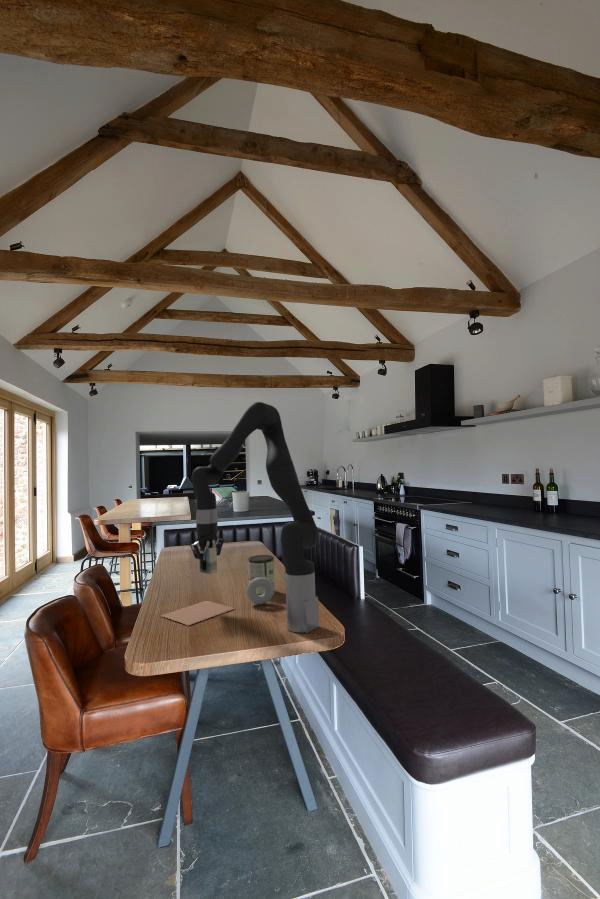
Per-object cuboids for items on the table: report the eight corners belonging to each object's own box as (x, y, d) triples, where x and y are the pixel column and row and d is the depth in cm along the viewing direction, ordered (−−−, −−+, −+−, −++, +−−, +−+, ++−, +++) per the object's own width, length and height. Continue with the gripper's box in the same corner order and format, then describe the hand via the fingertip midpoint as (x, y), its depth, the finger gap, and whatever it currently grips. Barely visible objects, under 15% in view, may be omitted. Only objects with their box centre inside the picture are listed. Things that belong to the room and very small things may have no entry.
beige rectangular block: (217, 572, 159) (216, 547, 159) (209, 574, 157) (209, 548, 157) (206, 570, 163) (205, 545, 163) (199, 572, 160) (198, 547, 161)
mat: (234, 609, 158) (234, 608, 158) (188, 626, 143) (188, 625, 143) (206, 601, 168) (206, 600, 168) (160, 616, 153) (160, 615, 153)
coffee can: (252, 589, 183) (251, 554, 184) (277, 589, 182) (276, 554, 182) (246, 596, 173) (245, 560, 174) (272, 596, 172) (271, 560, 172)
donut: (247, 607, 160) (246, 579, 161) (246, 604, 164) (246, 576, 164) (274, 604, 162) (273, 577, 162) (273, 602, 165) (272, 575, 165)
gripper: (197, 524, 153) (198, 575, 152) (228, 519, 163) (229, 566, 163) (184, 523, 157) (185, 572, 157) (215, 518, 168) (216, 564, 168)
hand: (208, 569), depth 160 cm, fingers closed on beige rectangular block, 3 cm apart
